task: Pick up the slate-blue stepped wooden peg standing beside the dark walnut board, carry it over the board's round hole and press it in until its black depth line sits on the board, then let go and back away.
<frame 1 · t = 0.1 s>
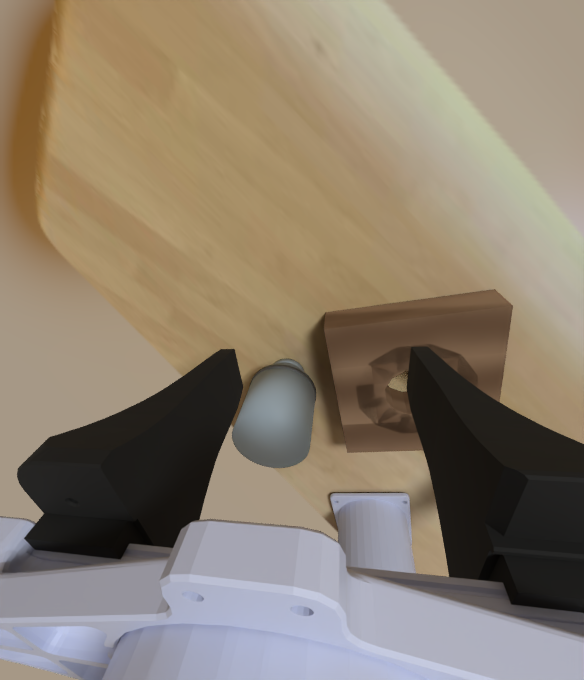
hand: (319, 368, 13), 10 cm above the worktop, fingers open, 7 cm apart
peg: (287, 372, 26), on the worktop
board: (408, 371, 24), on the worktop
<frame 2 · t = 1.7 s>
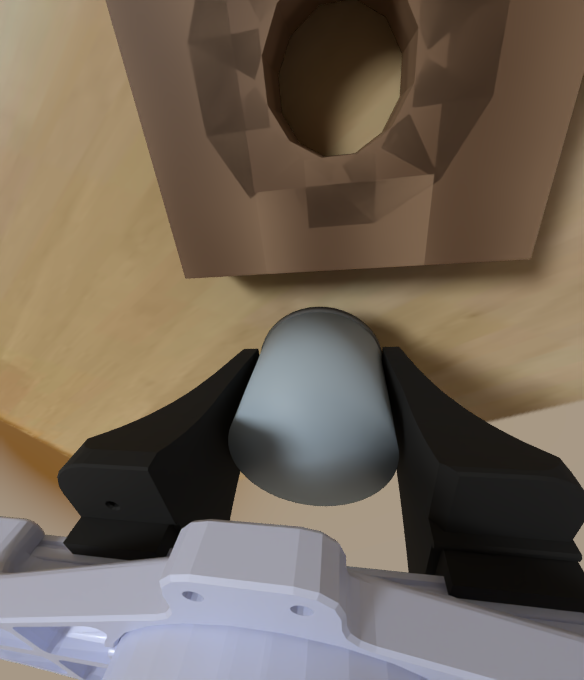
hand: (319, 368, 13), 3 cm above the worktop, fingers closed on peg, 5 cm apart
peg: (323, 333, 15), on the worktop, touching gripper
board: (338, 85, 10), on the worktop
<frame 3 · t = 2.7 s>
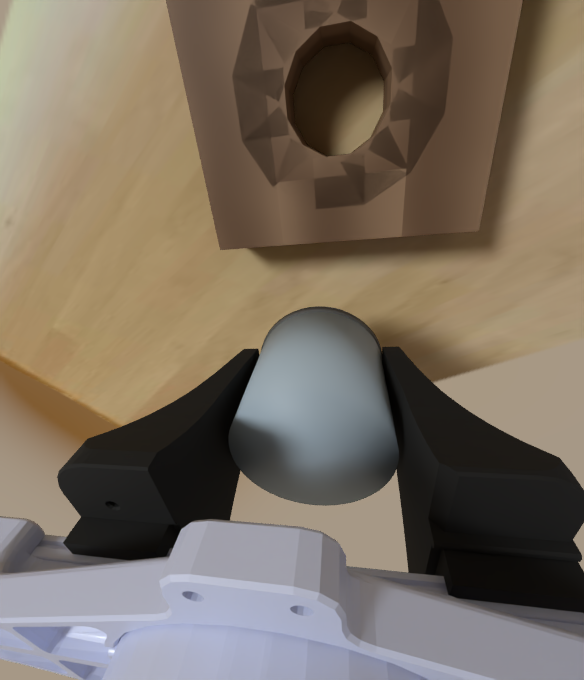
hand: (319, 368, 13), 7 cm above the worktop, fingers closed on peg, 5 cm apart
peg: (323, 333, 15), point 4 cm above the worktop, touching gripper
board: (337, 103, 14), on the worktop
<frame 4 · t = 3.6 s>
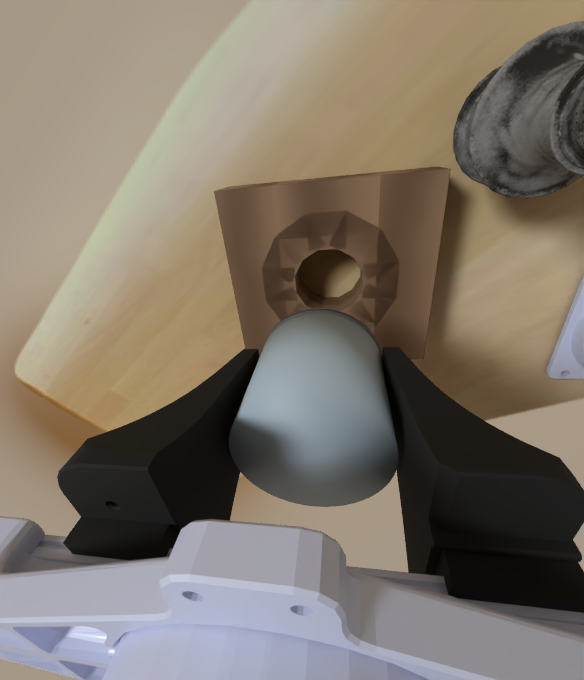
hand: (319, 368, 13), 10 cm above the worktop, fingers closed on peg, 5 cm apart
peg: (323, 333, 15), point 7 cm above the worktop, touching gripper
board: (330, 269, 21), on the worktop
grey flared cylinder: (507, 126, 16), on the worktop
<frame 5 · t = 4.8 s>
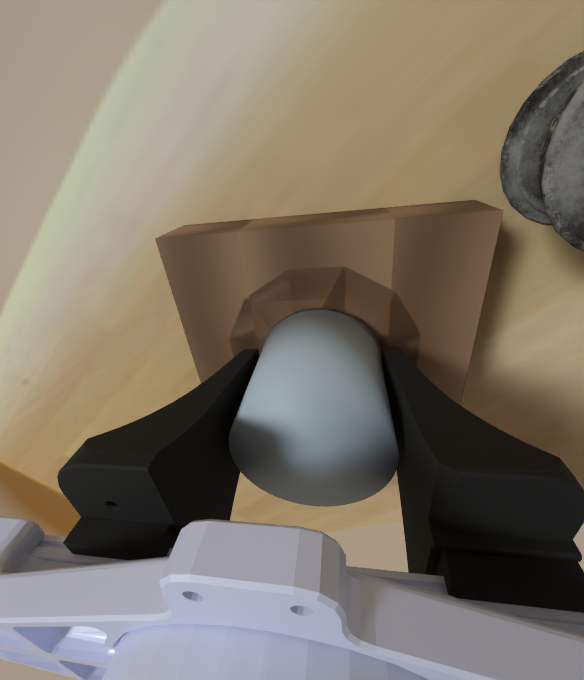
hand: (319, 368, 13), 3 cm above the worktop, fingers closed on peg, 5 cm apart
peg: (323, 333, 15), touching gripper
board: (324, 329, 16), on the worktop
grey flared cylinder: (583, 142, 11), on the worktop
when the fingers open (3 cm above the worktop, at t = 5.4 s): peg stays where it is, resting on board.
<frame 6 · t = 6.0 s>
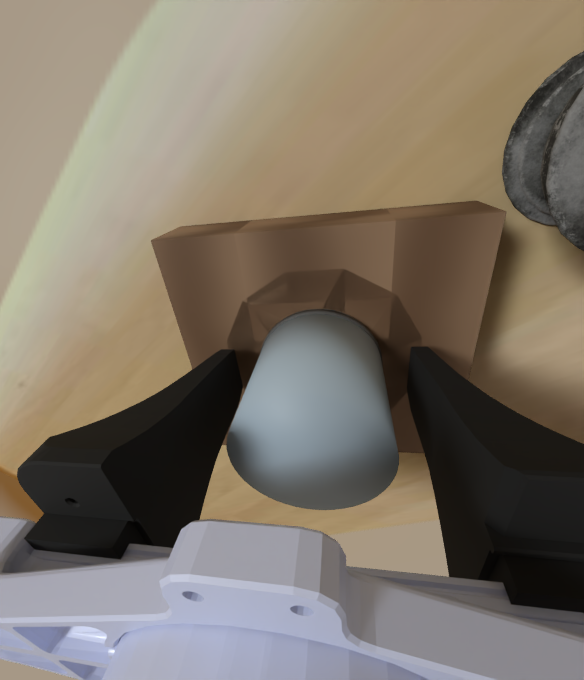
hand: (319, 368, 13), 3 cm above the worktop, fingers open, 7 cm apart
peg: (323, 335, 15), resting on board
board: (323, 332, 15), on the worktop
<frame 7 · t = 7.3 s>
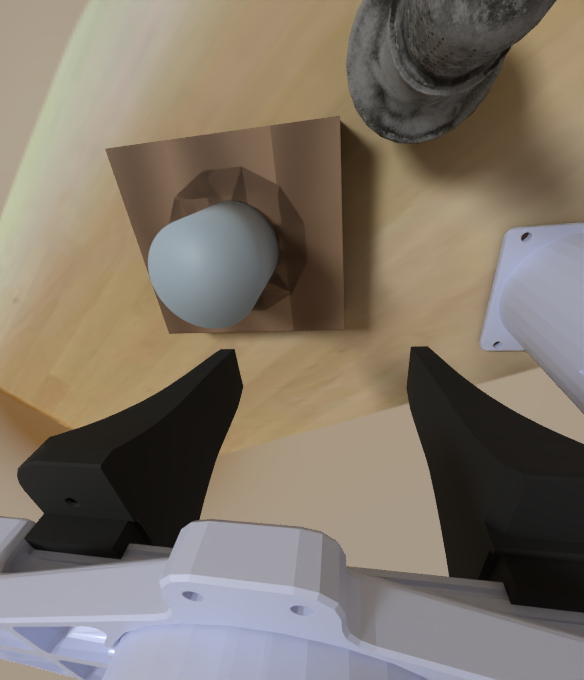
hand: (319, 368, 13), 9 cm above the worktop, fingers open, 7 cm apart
peg: (246, 238, 20), resting on board
board: (247, 237, 20), on the worktop
grey flared cylinder: (407, 73, 15), on the worktop
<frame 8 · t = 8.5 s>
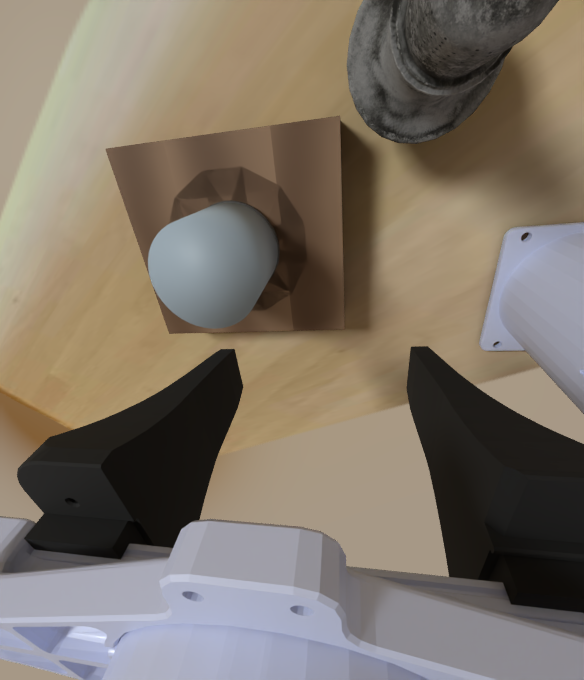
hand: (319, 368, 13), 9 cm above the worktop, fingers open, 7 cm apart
peg: (246, 238, 20), resting on board
board: (247, 237, 20), on the worktop
grey flared cylinder: (407, 73, 15), on the worktop
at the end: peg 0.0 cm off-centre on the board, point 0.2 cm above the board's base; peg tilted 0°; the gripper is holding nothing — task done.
